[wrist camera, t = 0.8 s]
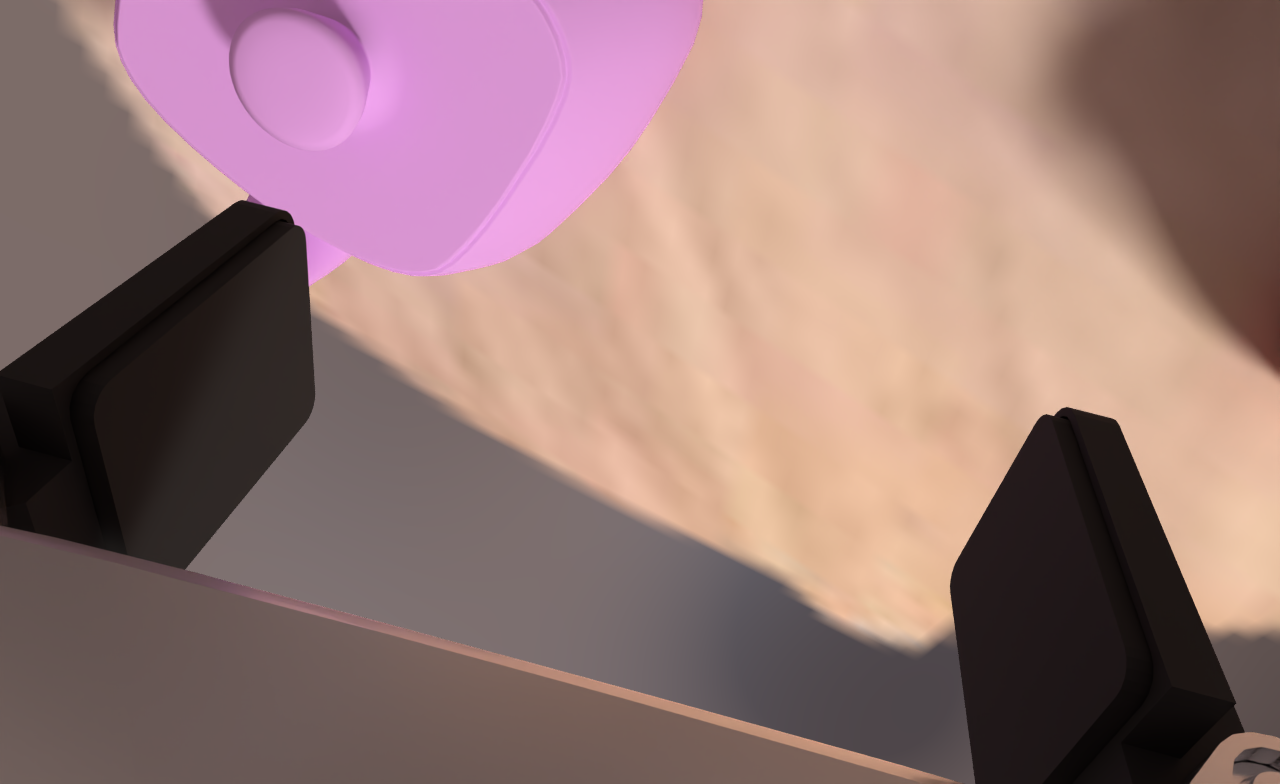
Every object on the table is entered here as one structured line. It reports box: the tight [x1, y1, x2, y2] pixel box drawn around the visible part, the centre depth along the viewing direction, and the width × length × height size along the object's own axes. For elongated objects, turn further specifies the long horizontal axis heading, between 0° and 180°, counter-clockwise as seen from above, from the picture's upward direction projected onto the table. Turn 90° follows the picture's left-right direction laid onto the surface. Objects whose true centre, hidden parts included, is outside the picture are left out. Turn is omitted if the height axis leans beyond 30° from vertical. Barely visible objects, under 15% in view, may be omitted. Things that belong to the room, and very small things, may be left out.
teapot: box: [114, 0, 703, 286], centre depth 31 cm, size 23×21×15 cm
